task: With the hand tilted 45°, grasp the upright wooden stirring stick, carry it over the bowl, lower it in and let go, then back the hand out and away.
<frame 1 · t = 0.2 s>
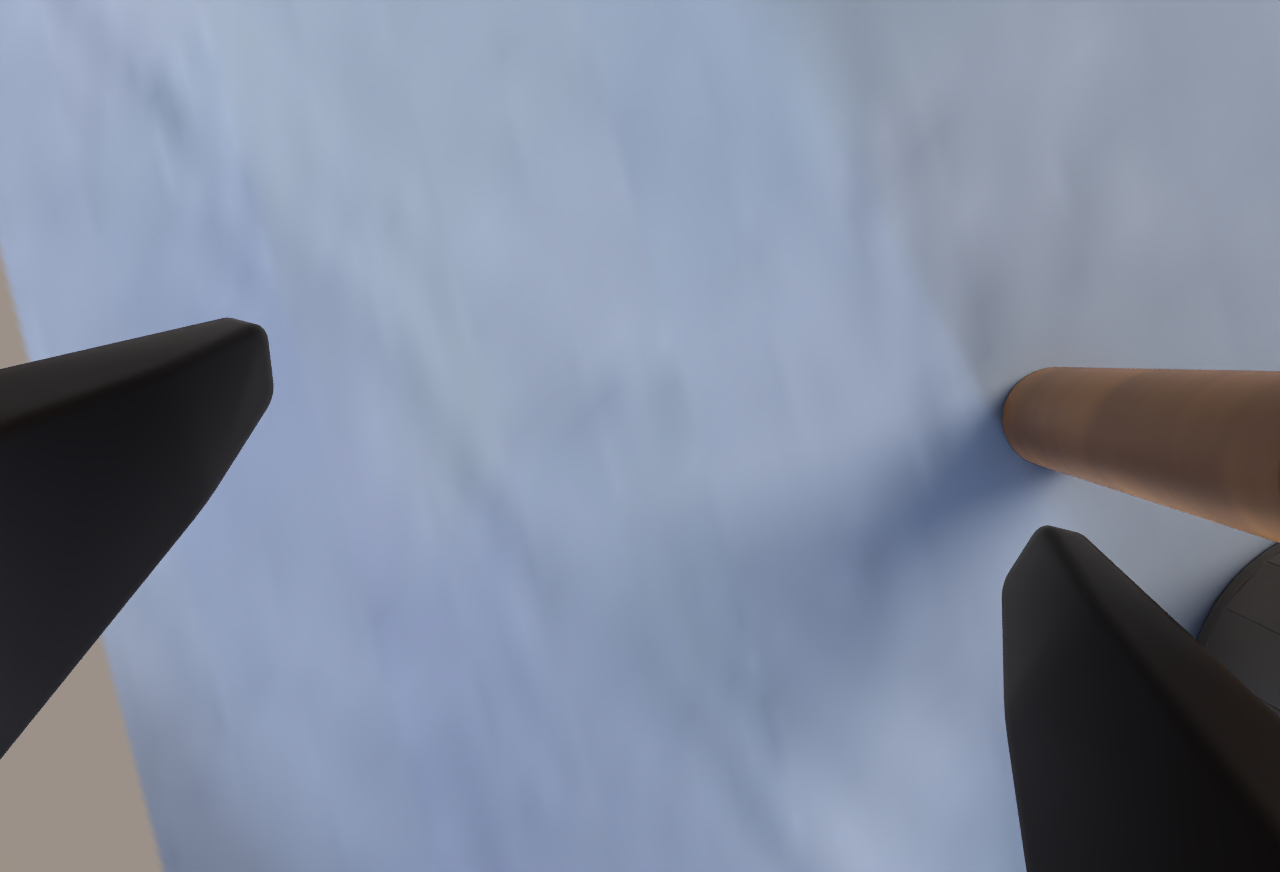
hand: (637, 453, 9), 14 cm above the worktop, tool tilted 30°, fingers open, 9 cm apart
stick: (1053, 417, 23), on the worktop
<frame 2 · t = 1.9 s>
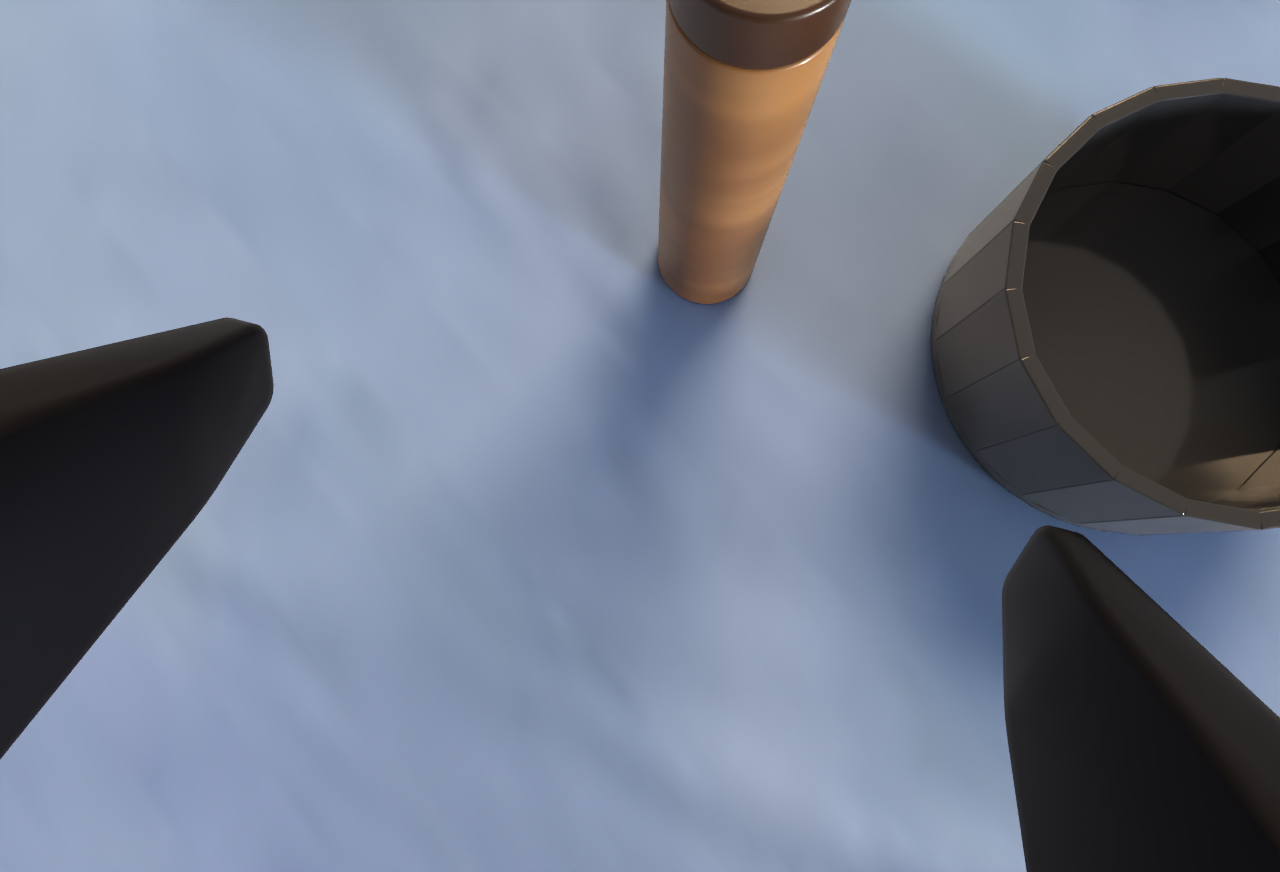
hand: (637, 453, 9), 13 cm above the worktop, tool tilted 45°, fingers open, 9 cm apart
stick: (705, 258, 23), on the worktop
bowl: (1113, 350, 23), on the worktop
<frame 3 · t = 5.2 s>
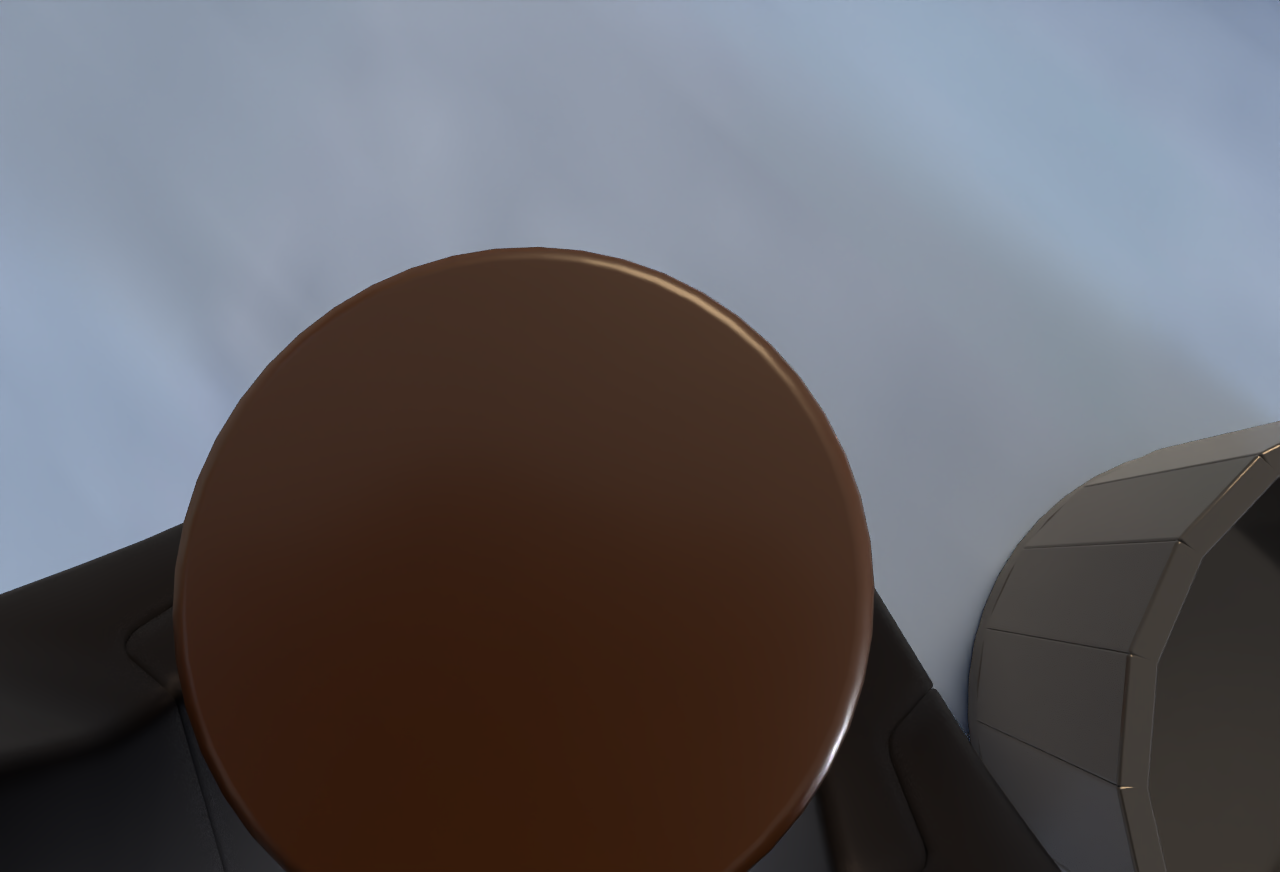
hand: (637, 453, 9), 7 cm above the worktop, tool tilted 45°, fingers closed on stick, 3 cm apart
stick: (622, 570, 15), on the worktop, touching gripper
bowl: (1249, 723, 15), on the worktop
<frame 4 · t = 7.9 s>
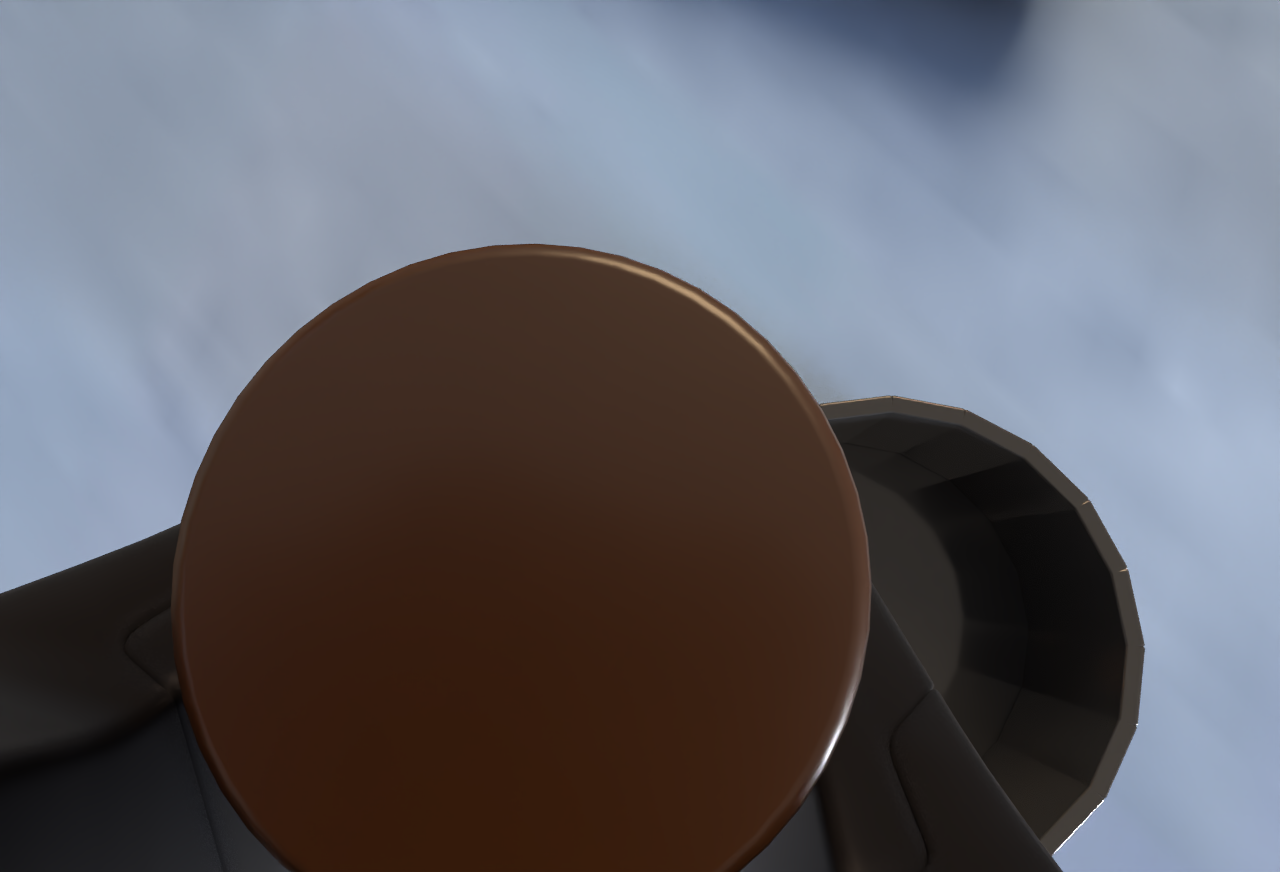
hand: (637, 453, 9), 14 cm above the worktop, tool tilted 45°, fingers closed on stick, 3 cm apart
stick: (622, 570, 15), point 7 cm above the worktop, touching gripper
bowl: (840, 621, 22), on the worktop
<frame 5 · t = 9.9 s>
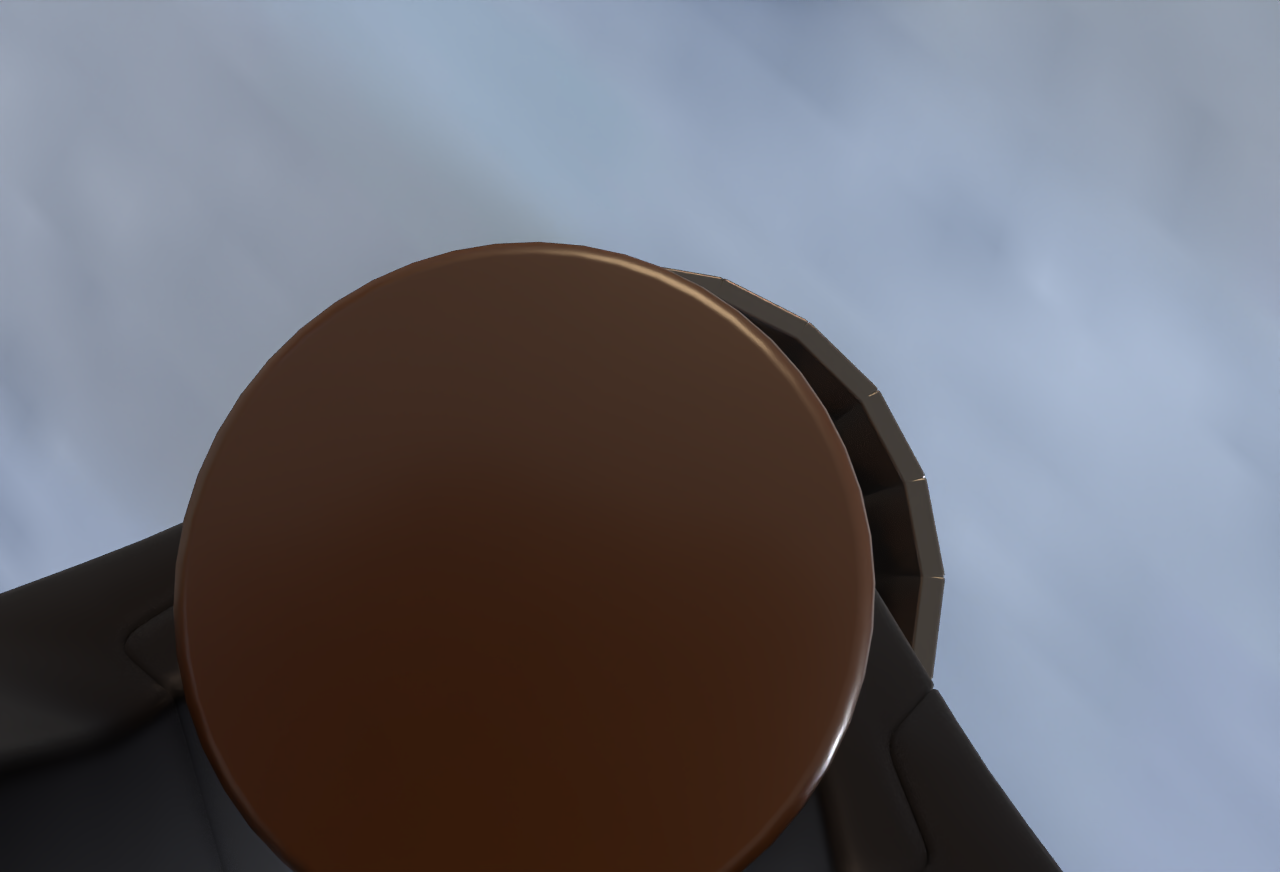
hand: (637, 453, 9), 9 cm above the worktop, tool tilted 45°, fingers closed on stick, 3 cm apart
stick: (623, 569, 15), point 3 cm above the worktop, touching gripper
bowl: (628, 568, 18), on the worktop
when the fingers open (7 cm above the worktop, at t = 10.9 s): stick stays where it is, resting on bowl.
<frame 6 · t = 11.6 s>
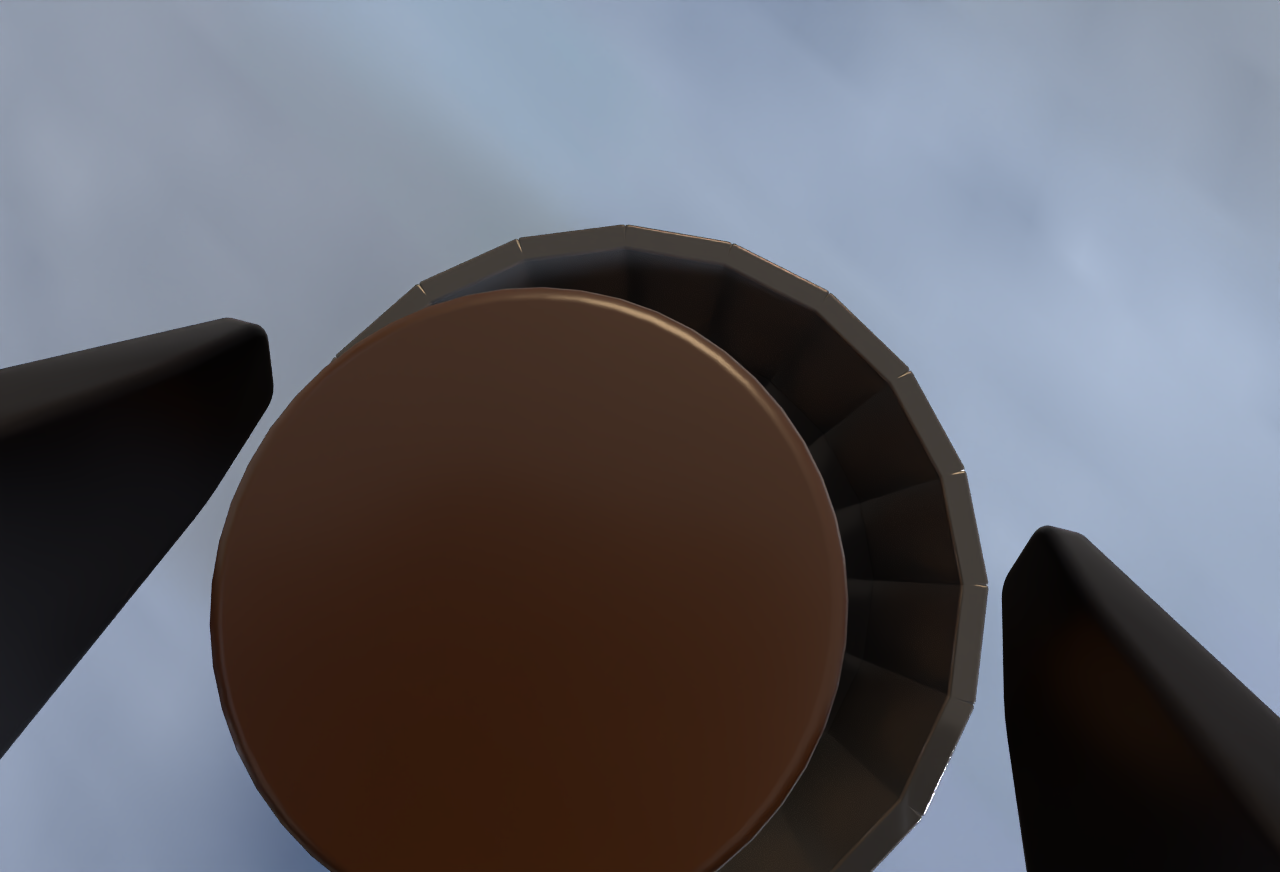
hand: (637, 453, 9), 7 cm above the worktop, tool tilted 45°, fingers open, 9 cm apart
stick: (622, 574, 16), resting on bowl
bowl: (624, 573, 16), on the worktop
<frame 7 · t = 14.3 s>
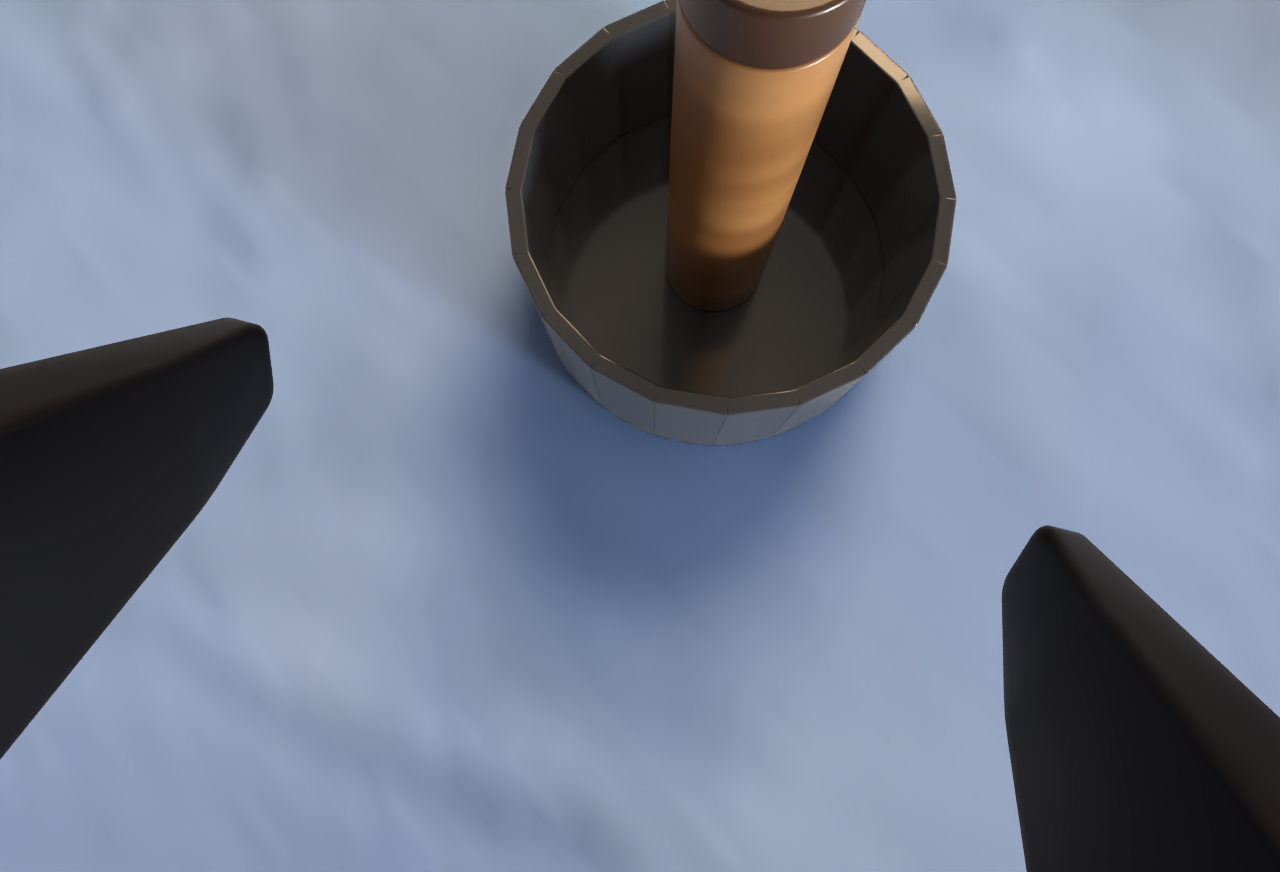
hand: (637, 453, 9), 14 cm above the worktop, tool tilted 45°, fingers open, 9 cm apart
stick: (713, 265, 23), resting on bowl
bowl: (713, 271, 24), on the worktop
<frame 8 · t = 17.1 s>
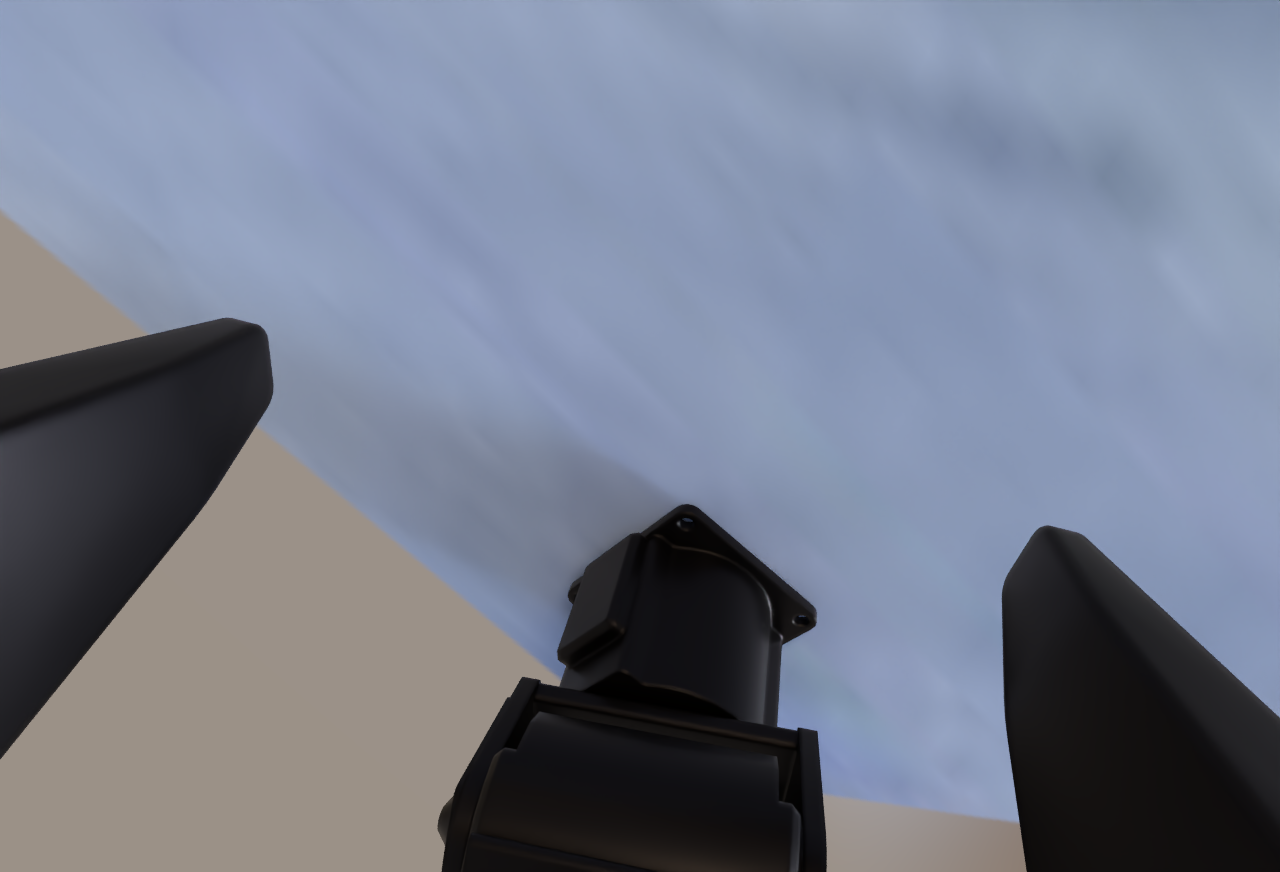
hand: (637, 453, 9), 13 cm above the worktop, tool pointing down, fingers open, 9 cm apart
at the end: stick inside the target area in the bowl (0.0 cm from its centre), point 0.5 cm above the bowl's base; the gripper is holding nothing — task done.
